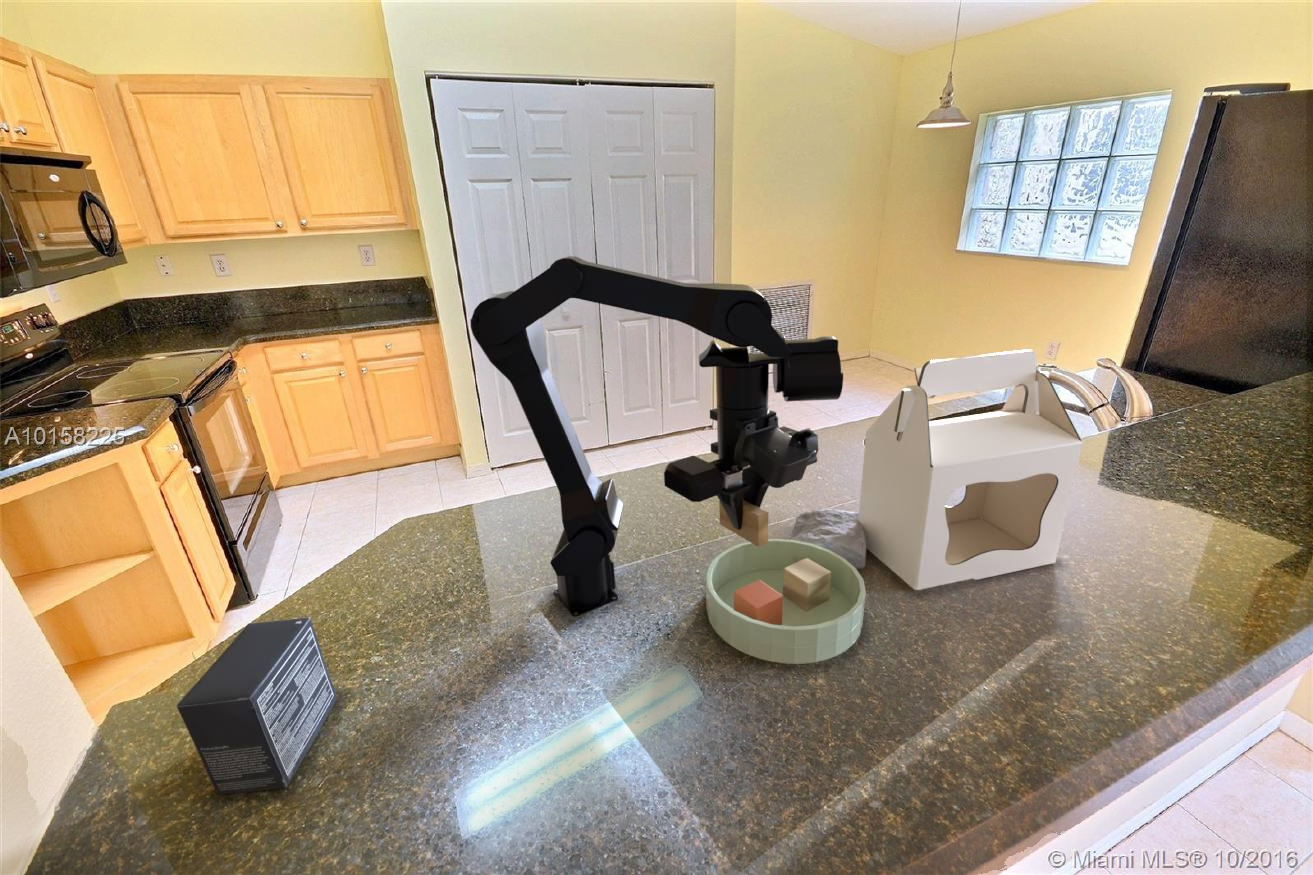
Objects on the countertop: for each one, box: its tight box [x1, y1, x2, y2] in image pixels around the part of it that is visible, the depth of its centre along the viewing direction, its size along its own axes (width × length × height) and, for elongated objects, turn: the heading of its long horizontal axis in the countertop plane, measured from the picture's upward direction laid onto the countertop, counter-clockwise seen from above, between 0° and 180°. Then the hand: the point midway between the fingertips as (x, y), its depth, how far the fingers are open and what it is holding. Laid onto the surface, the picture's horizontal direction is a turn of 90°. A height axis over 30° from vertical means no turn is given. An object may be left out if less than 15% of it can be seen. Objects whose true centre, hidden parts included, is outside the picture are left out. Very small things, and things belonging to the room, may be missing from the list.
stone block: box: [790, 508, 867, 570], centre depth 82 cm, size 12×5×10 cm
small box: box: [175, 616, 339, 796], centre depth 53 cm, size 11×6×10 cm, turn 5°
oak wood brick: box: [718, 499, 769, 547], centre depth 69 cm, size 2×7×4 cm, turn 34°
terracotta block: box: [734, 580, 783, 625], centre depth 67 cm, size 4×4×4 cm
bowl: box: [705, 538, 867, 665], centre depth 69 cm, size 18×18×5 cm
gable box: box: [858, 349, 1083, 591], centre depth 76 cm, size 22×13×28 cm, turn 104°
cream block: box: [783, 558, 831, 611], centre depth 71 cm, size 4×4×4 cm
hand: (743, 526), depth 70 cm, fingers closed on oak wood brick, 2 cm apart
